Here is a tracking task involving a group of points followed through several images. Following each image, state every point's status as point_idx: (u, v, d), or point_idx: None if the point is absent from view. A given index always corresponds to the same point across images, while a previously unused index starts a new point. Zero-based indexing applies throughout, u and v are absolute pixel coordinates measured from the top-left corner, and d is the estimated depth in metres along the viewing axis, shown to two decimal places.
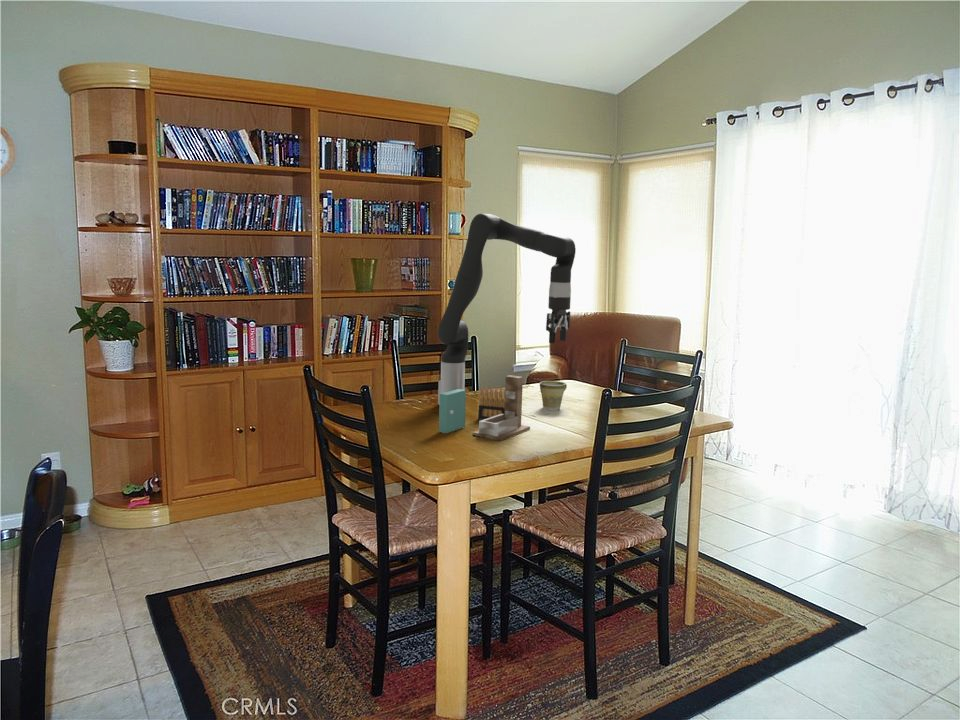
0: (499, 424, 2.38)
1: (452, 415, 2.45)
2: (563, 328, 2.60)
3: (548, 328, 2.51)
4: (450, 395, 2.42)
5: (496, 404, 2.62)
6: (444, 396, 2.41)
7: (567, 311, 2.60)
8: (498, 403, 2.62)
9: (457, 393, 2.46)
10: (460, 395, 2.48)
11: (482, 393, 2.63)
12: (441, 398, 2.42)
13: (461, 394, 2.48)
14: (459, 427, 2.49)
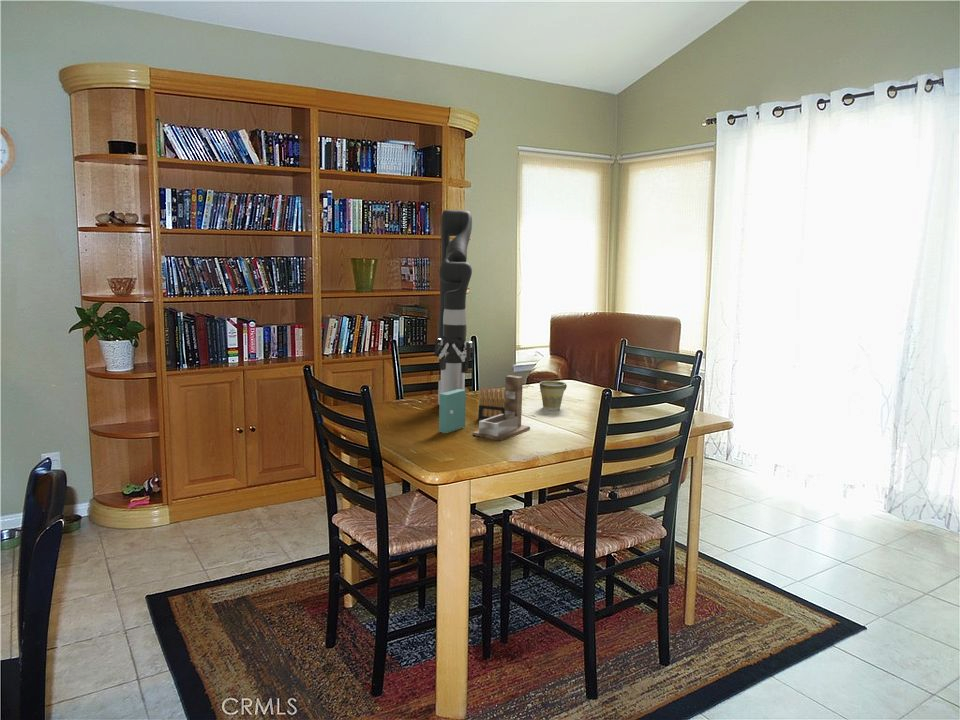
0: (499, 424, 2.38)
1: (452, 415, 2.45)
2: (443, 356, 2.47)
3: (470, 357, 2.40)
4: (450, 395, 2.42)
5: (496, 404, 2.62)
6: (444, 396, 2.41)
7: (440, 338, 2.47)
8: (498, 403, 2.62)
9: (457, 393, 2.46)
10: (460, 395, 2.48)
11: (482, 393, 2.63)
12: (441, 398, 2.42)
13: (461, 394, 2.48)
14: (459, 427, 2.49)
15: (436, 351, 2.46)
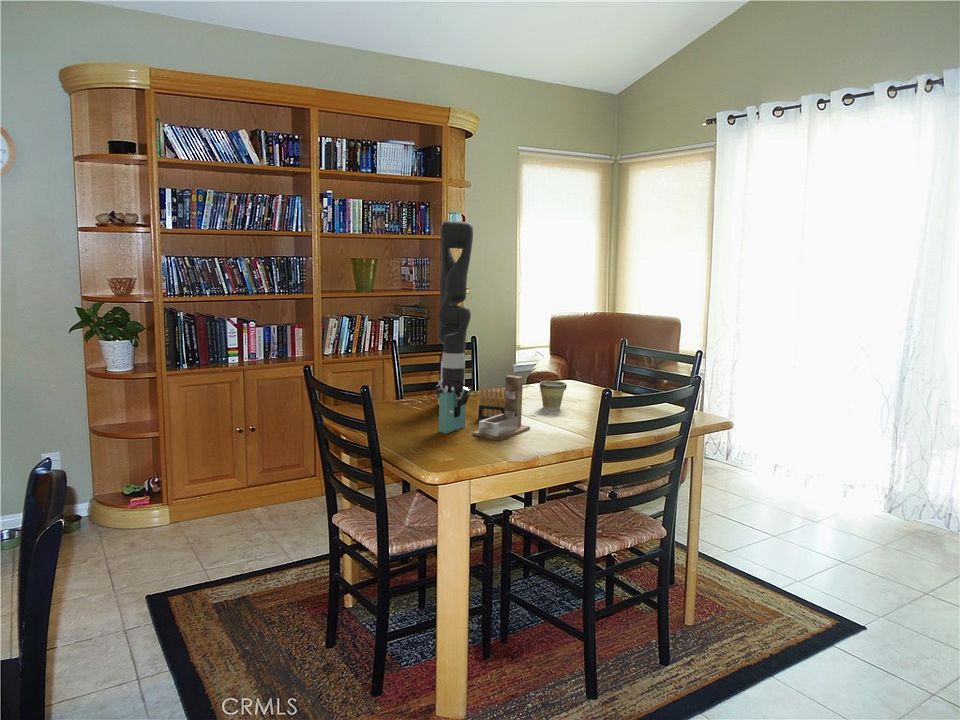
0: (499, 424, 2.38)
1: (452, 415, 2.45)
2: None
3: None
4: (450, 395, 2.42)
5: (496, 404, 2.62)
6: (444, 396, 2.41)
7: (439, 384, 2.49)
8: (498, 403, 2.62)
9: None
10: None
11: (482, 393, 2.63)
12: (441, 398, 2.42)
13: (461, 394, 2.48)
14: (459, 427, 2.49)
15: None
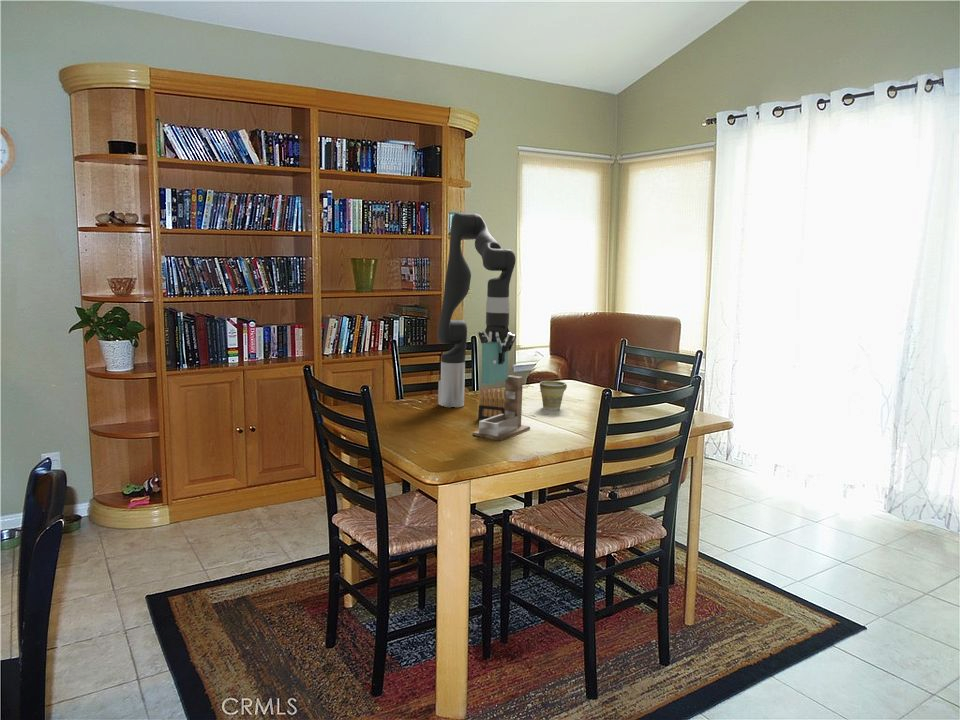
0: (499, 424, 2.38)
1: (495, 365, 2.38)
2: None
3: (507, 348, 2.38)
4: (493, 344, 2.36)
5: (496, 404, 2.62)
6: (487, 345, 2.35)
7: None
8: (498, 403, 2.62)
9: None
10: None
11: (482, 393, 2.63)
12: (484, 348, 2.36)
13: None
14: (502, 378, 2.43)
15: None
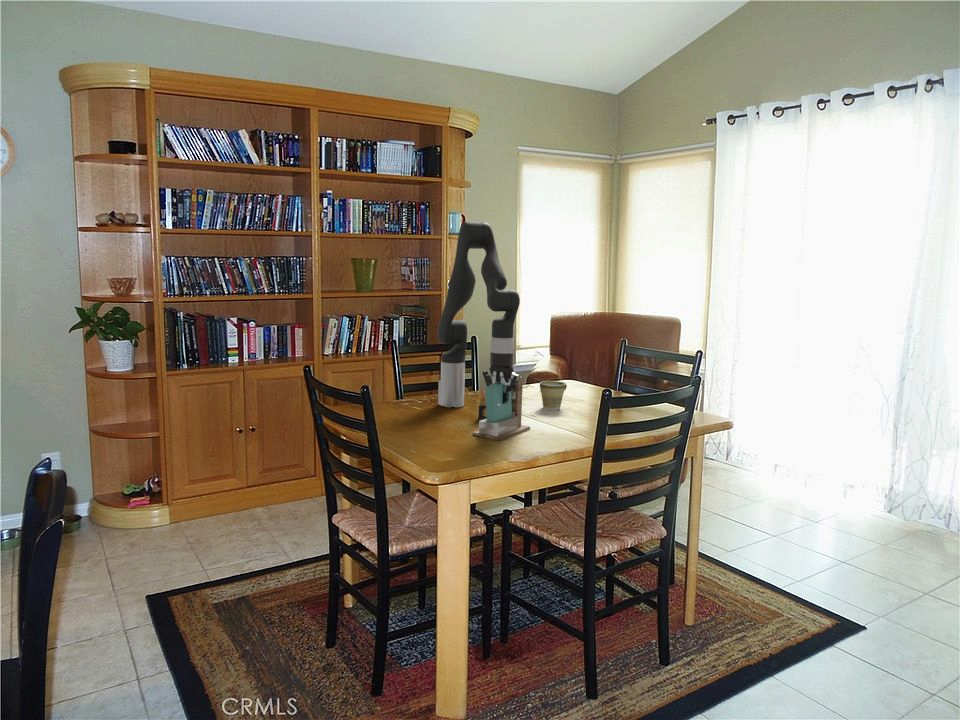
0: (499, 424, 2.38)
1: (499, 407, 2.40)
2: None
3: (511, 388, 2.40)
4: (496, 388, 2.38)
5: None
6: (490, 389, 2.37)
7: None
8: None
9: None
10: None
11: (482, 393, 2.63)
12: (487, 392, 2.37)
13: None
14: (506, 418, 2.45)
15: (487, 383, 2.44)
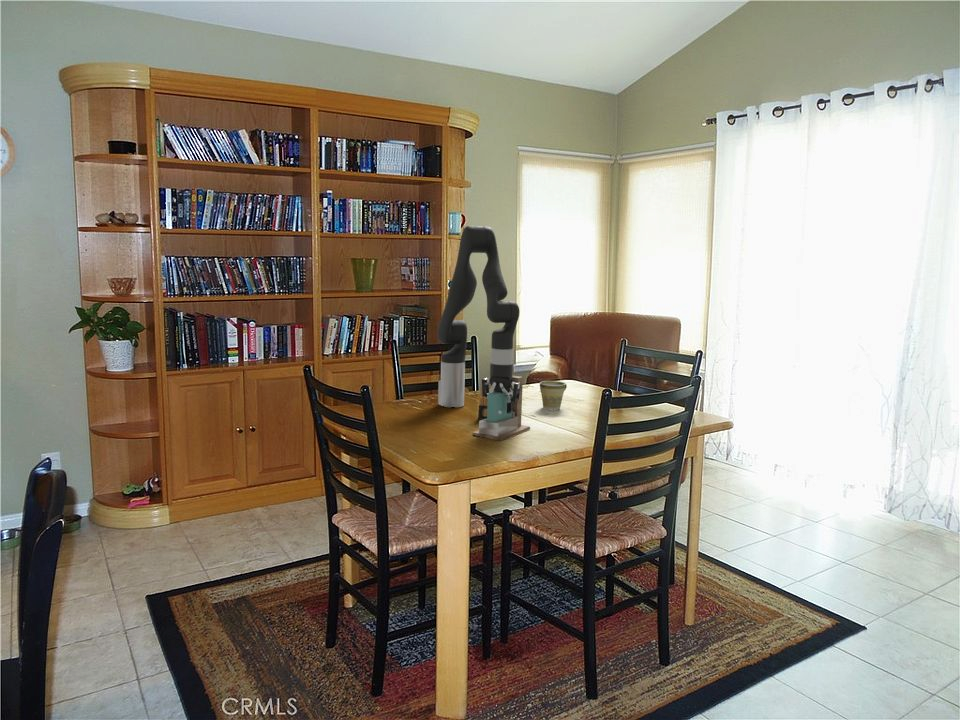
0: (499, 424, 2.38)
1: (500, 415, 2.41)
2: None
3: (516, 398, 2.39)
4: (498, 395, 2.39)
5: None
6: (492, 396, 2.38)
7: (486, 378, 2.46)
8: None
9: None
10: None
11: None
12: (489, 398, 2.39)
13: None
14: None
15: (484, 391, 2.45)
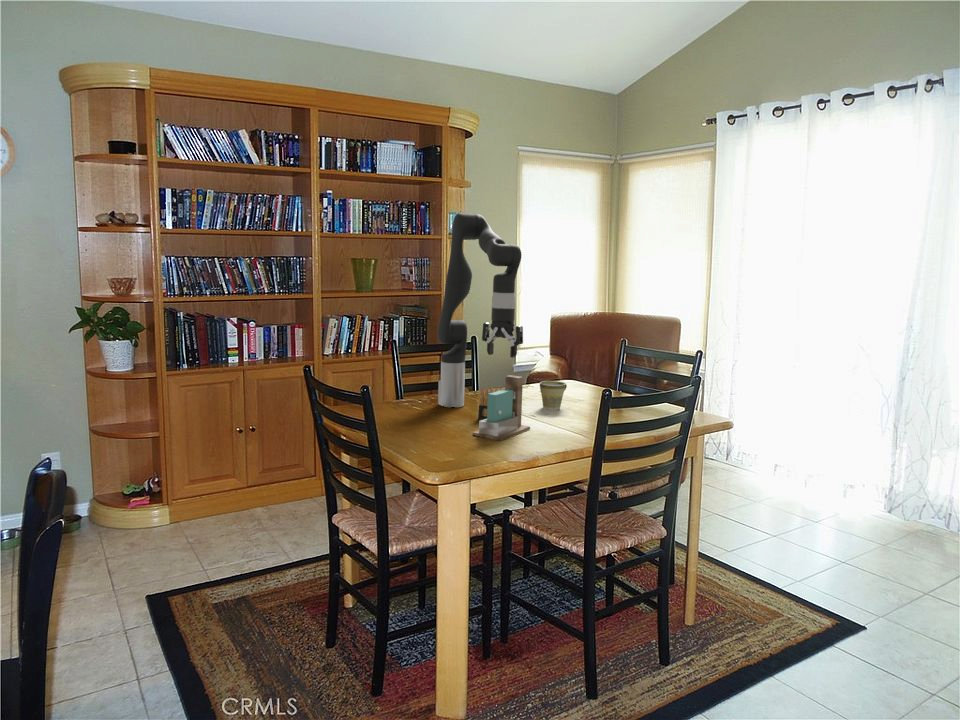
0: (499, 424, 2.38)
1: (500, 415, 2.41)
2: (491, 341, 2.43)
3: (520, 342, 2.36)
4: (498, 395, 2.39)
5: None
6: (492, 396, 2.38)
7: None
8: None
9: (505, 393, 2.42)
10: (508, 395, 2.44)
11: (482, 393, 2.63)
12: (489, 398, 2.39)
13: (509, 394, 2.45)
14: None
15: (484, 335, 2.42)
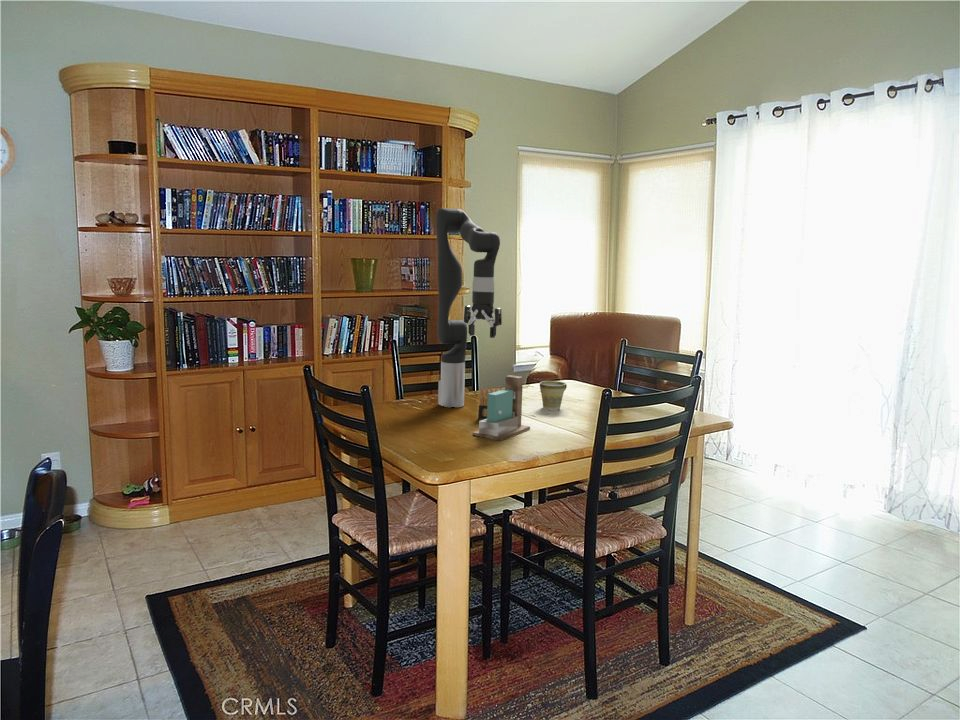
0: (499, 424, 2.38)
1: (500, 415, 2.41)
2: (472, 323, 2.59)
3: (498, 323, 2.53)
4: (498, 395, 2.39)
5: None
6: (492, 396, 2.38)
7: None
8: None
9: (505, 393, 2.42)
10: (508, 395, 2.44)
11: (482, 393, 2.63)
12: (489, 398, 2.39)
13: (509, 394, 2.45)
14: None
15: (465, 317, 2.59)
